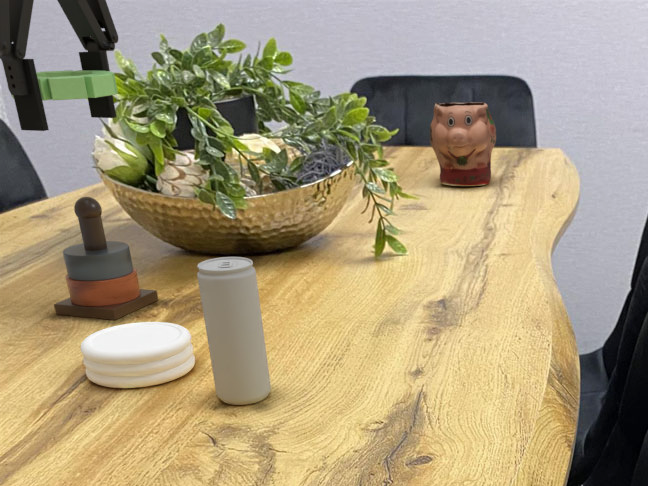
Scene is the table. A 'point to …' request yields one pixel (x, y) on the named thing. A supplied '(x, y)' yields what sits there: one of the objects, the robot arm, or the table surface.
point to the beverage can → (234, 329)
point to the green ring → (76, 84)
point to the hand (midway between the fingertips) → (71, 123)
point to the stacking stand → (100, 272)
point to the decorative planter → (463, 142)
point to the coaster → (138, 354)
